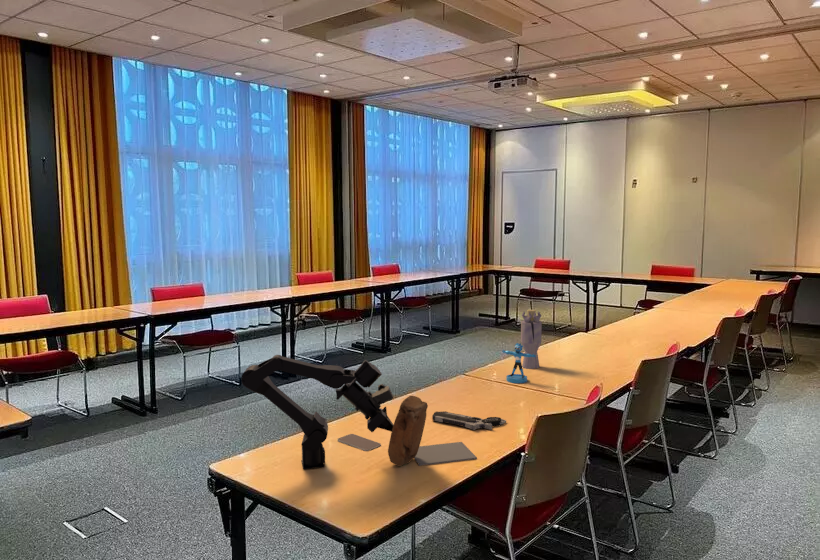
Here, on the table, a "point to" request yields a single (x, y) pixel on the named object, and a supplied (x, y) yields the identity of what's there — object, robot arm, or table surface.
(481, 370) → the table surface
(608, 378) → the table surface
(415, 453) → the brown pitted rounded part
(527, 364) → the purple tower sculpture
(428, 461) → the mat
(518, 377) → the figurine
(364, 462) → the table surface
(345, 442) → the smartphone
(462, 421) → the firearm
